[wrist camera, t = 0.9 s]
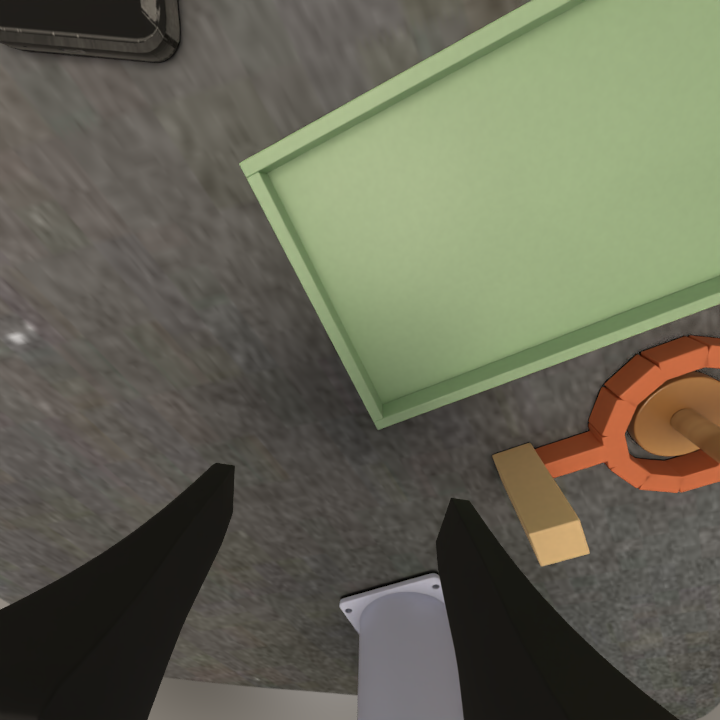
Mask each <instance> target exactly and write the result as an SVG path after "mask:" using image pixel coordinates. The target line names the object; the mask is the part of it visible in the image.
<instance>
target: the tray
mask: <svg viewBox="0 0 720 720" xmlns="http://www.w3.org/2000/svg"><path fill="white" fill-rule="evenodd" d="M239 165H240V167H241V169H242V171H243V173H244V175H245V176H246V178H247V180H248V182H249V184H250V186H251V188H252V190H253V192H254V194H255V196H256V198H257V199H258V201H259V203H260V205H261V207H262V209H263V211H264V213H265V215H266V217H267V219H268V221H269V223H270V224H271V226H272V228H273V230H274V232H275V234H276V236H277V238H278V240H279V242H280V244H281V246H282V247H283V249H284V251H285V253H286V255H287V257H288V259H289V261H290V263H291V265H292V267H293V269H294V270H295V272H296V274H297V276H298V278H299V280H300V282H301V284H302V286H303V288H304V290H305V292H306V294H307V295H308V297H309V299H310V301H311V303H312V305H313V307H314V309H315V311H316V313H317V315H318V317H319V318H320V320H321V322H322V324H323V326H324V328H325V330H326V332H327V334H328V336H329V338H330V340H331V341H332V343H333V345H334V347H335V349H336V351H337V353H338V355H339V357H340V359H341V361H342V363H343V365H344V366H345V368H346V370H347V372H348V374H349V376H350V378H351V380H352V382H353V384H354V386H355V388H356V389H357V391H358V393H359V395H360V397H361V399H362V401H363V403H364V405H365V407H366V409H367V411H368V412H369V414H370V416H371V418H372V420H373V421H374V424H375V426H376V428H377V429H378V430H380V429H382V428H385V427H388V426H390V425H393V424H396V423H398V422H401V421H404V420H407V419H409V418H412V417H415V416H417V415H420V414H423V413H426V412H428V411H431V410H434V409H436V408H439V407H442V406H444V405H447V404H450V403H453V402H455V401H458V400H461V399H463V398H466V397H469V396H472V395H474V394H477V393H480V392H482V391H485V390H488V389H491V388H493V387H496V386H499V385H501V384H504V383H507V382H509V381H512V380H515V379H518V378H520V377H523V376H526V375H528V374H531V373H534V372H537V371H539V370H542V369H545V368H547V367H550V366H553V365H555V364H558V363H561V362H564V361H566V360H569V359H572V358H574V357H577V356H580V355H583V354H585V353H588V352H591V351H593V350H596V349H599V348H601V347H604V346H607V345H610V344H612V343H615V342H618V341H620V340H623V339H626V338H629V337H631V336H634V335H637V334H639V333H642V332H645V331H648V330H650V329H653V328H656V327H658V326H661V325H664V324H666V323H669V322H672V321H675V320H677V319H680V318H683V317H685V316H688V315H691V314H694V313H696V312H699V311H702V310H704V309H707V308H710V307H712V306H715V305H718V304H720V0H531V1H530V2H528V3H526V4H524V5H522V6H521V7H519V8H517V9H515V10H513V11H512V12H510V13H508V14H506V15H504V16H503V17H501V18H499V19H497V20H496V21H494V22H492V23H490V24H488V25H487V26H485V27H483V28H481V29H479V30H478V31H476V32H474V33H472V34H470V35H469V36H467V37H465V38H463V39H461V40H460V41H458V42H456V43H454V44H452V45H451V46H449V47H447V48H445V49H443V50H442V51H440V52H438V53H436V54H434V55H433V56H431V57H429V58H427V59H425V60H424V61H422V62H420V63H418V64H416V65H415V66H413V67H411V68H409V69H407V70H406V71H404V72H402V73H400V74H399V75H397V76H395V77H393V78H391V79H390V80H388V81H386V82H384V83H382V84H381V85H379V86H377V87H375V88H373V89H372V90H370V91H368V92H366V93H364V94H363V95H361V96H359V97H357V98H355V99H354V100H352V101H350V102H348V103H346V104H345V105H343V106H341V107H339V108H337V109H336V110H334V111H332V112H330V113H328V114H327V115H325V116H323V117H321V118H319V119H318V120H316V121H314V122H312V123H311V124H309V125H307V126H305V127H303V128H302V129H300V130H298V131H296V132H294V133H293V134H291V135H289V136H287V137H285V138H284V139H282V140H280V141H278V142H276V143H275V144H273V145H271V146H269V147H267V148H266V149H264V150H262V151H260V152H258V153H257V154H255V155H253V156H251V157H249V158H248V159H246V160H244V161H242V162H240V163H239Z"/></svg>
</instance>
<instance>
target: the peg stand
mask: <svg viewBox="0 0 720 720" xmlns="http://www.w3.org/2000/svg"><path fill="white" fill-rule="evenodd" d="M627 429H628V432H629V434H630V436H631V437H632V438H633V440H634V441H636V442H637V443H638V444H639V445H640V446H641V447H642V448H643V449H645V450H646V451H648V452H650V453H652V454H656V455H660V456H678V455H684V454H688V453H691V452H693V451H696V450H698V449H701V450H702V451H704V452H705V453H706V454H708V455H709V456H710V457H711V458H713V459H714V460H715V461H717V462H718V463H719V464H720V381H718V380H716V379H714V378H712V377H710V376H708V375H706V374H703V373H700V372H689V373H686V374H683V375H681V376H678V377H675V378H672V379H669V380H666V381H665V382H664V383H663V384H662V385H661V386H659V387H658V388H657V389H656V390H655V391H653V392H652V393H651V394H650V395H649V396H648V397H646V398H645V399H644V400H643V401H642V402H641V403H639V404H638V405H637V407H636V410H635V412H634V414H633V416H632V419H631V421H630V423H629V425H628V428H627Z"/></svg>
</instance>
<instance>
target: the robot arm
mask: <svg viewBox="0 0 720 720" xmlns="http://www.w3.org/2000/svg"><path fill="white" fill-rule="evenodd" d="M234 470H235V466H233V465H227V464H220V463H215V464H213V465H212V466H211V467H210V468H209V469H208V470H207V471H206V472H205V473H204V474H202V475H201V476H200V477H199V478H198V479H197V480H196V481H195V482H194V483H193V484H191V485H190V486H189V487H188V488H187V489H186V490H185V491H184V492H182V493H181V494H180V495H179V496H178V497H177V498H175V499H174V500H173V501H172V502H171V503H169V504H168V505H167V506H166V507H165V508H164V509H162V510H161V511H160V512H159V513H157V514H156V515H155V516H153V517H152V518H151V519H149V520H148V521H147V522H146V523H144V524H143V525H142V526H140V527H139V528H138V529H136V530H135V531H134V532H132V533H131V534H130V535H128V536H127V537H125V538H124V539H122V540H121V541H120V542H118V543H117V544H115V545H114V546H112V547H111V548H109V549H108V550H106V551H105V552H103V553H102V554H100V555H99V556H97V557H95V558H94V559H92V560H90V561H89V562H87V563H86V564H84V565H82V566H81V567H79V568H77V569H76V570H74V571H72V572H71V573H69V574H67V575H66V576H64V577H62V578H60V579H59V580H57V581H55V582H53V583H51V584H49V585H47V586H46V587H44V588H42V589H40V590H38V591H36V592H34V593H32V594H30V595H29V596H27V597H25V598H23V599H21V600H19V601H17V602H15V603H13V604H11V605H9V606H7V607H5V608H3V609H1V610H0V720H147V719H148V716H149V713H150V710H151V708H152V705H153V702H154V700H155V697H156V694H157V691H158V689H159V686H160V684H161V680H162V678H163V675H164V673H165V670H166V667H167V665H168V662H169V660H170V657H171V654H172V652H173V649H174V647H175V644H176V641H177V639H178V636H179V633H180V631H181V629H182V626H183V624H184V622H185V620H186V617H187V615H188V613H189V611H190V609H191V607H192V605H193V603H194V601H195V598H196V596H197V594H198V592H199V590H200V588H201V586H202V584H203V582H204V580H205V578H206V576H207V574H208V572H209V570H210V567H211V565H212V563H213V561H214V559H215V557H216V555H217V553H218V551H219V549H220V546H221V544H222V542H223V539H224V536H225V533H226V531H227V528H228V525H229V522H230V519H231V516H232V513H233V494H234ZM436 548H437V561H438V570H439V575H438V574H435V573H430V574H427V575H423V576H420V577H416V578H413V579H409V580H406V581H402V582H399V583H395V584H391V585H388V586H384V587H381V588H377V589H374V590H370V591H367V592H363V593H360V594H356V595H353V596H349V597H346V598H343V599H341V600H340V604H339V607H340V609H341V610H342V611H343V613H344V614H345V615H346V617H347V618H348V620H349V621H350V622H351V624H352V625H353V627H354V628H355V629H356V631H357V632H358V633H359V671H358V710H357V711H358V712H357V713H358V714H357V720H679V719H677V718H676V717H675V716H674V715H672V714H671V713H670V712H668V711H667V710H666V709H665V708H663V707H662V706H661V705H659V704H658V703H657V702H656V701H654V700H653V699H652V698H650V697H649V696H648V695H647V694H645V693H644V692H643V691H642V690H640V689H639V688H638V687H637V686H636V685H635V684H633V683H632V682H631V681H630V680H629V679H627V678H626V677H625V676H624V675H623V674H622V673H620V672H619V671H618V670H617V669H616V668H615V667H613V666H612V665H611V664H610V663H609V662H608V661H607V660H606V659H605V658H603V657H602V656H601V655H600V654H599V653H598V652H597V651H596V650H595V649H594V648H593V647H592V646H591V645H589V644H588V643H587V642H586V641H585V640H584V639H583V638H582V637H581V636H580V635H579V634H578V633H577V632H576V631H575V630H574V629H573V628H572V627H571V626H570V625H569V624H568V623H567V622H566V621H565V620H564V619H563V618H562V617H561V616H560V615H559V614H558V613H557V612H556V611H555V610H554V608H553V607H552V606H551V605H550V604H549V603H548V602H547V601H546V600H545V599H544V598H543V597H542V595H541V594H540V593H539V592H538V591H537V590H536V589H535V587H534V586H533V585H532V584H531V583H530V581H529V580H528V579H527V578H526V577H525V575H524V574H523V573H522V572H521V571H520V569H519V568H518V567H517V566H516V564H515V563H514V562H513V561H512V559H511V558H510V557H509V555H508V554H507V553H506V551H505V550H504V549H503V547H502V546H501V545H500V543H499V542H498V541H497V539H496V538H495V537H494V535H493V534H492V532H491V531H490V530H489V528H488V527H487V525H486V524H485V522H484V521H483V520H482V518H481V517H480V515H479V514H478V513H477V511H476V510H475V508H474V507H473V505H472V504H471V503H470V501H468V500H462V499H455V498H451V500H450V503H449V505H448V508H447V511H446V514H445V517H444V520H443V523H442V526H441V529H440V532H439V535H438V538H437V540H436Z"/></svg>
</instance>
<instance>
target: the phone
mask: <svg viewBox="0 0 720 720" xmlns="http://www.w3.org/2000/svg"><path fill="white" fill-rule="evenodd" d="M179 33H180V28H179V16H178V5H177V0H0V43H3V44H5V45H8V46H10V47H13V48H16V49H19V50H23V51H34V52H46V53H57V54H68V55H79V56H90V57H101V58H113V59H124V60H135V61H146V62H162V61H165V60H166V59H168V58H170V57H171V56H172V55H173V53H174V52H175V51H176V49H177V46H178V43H179Z"/></svg>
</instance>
